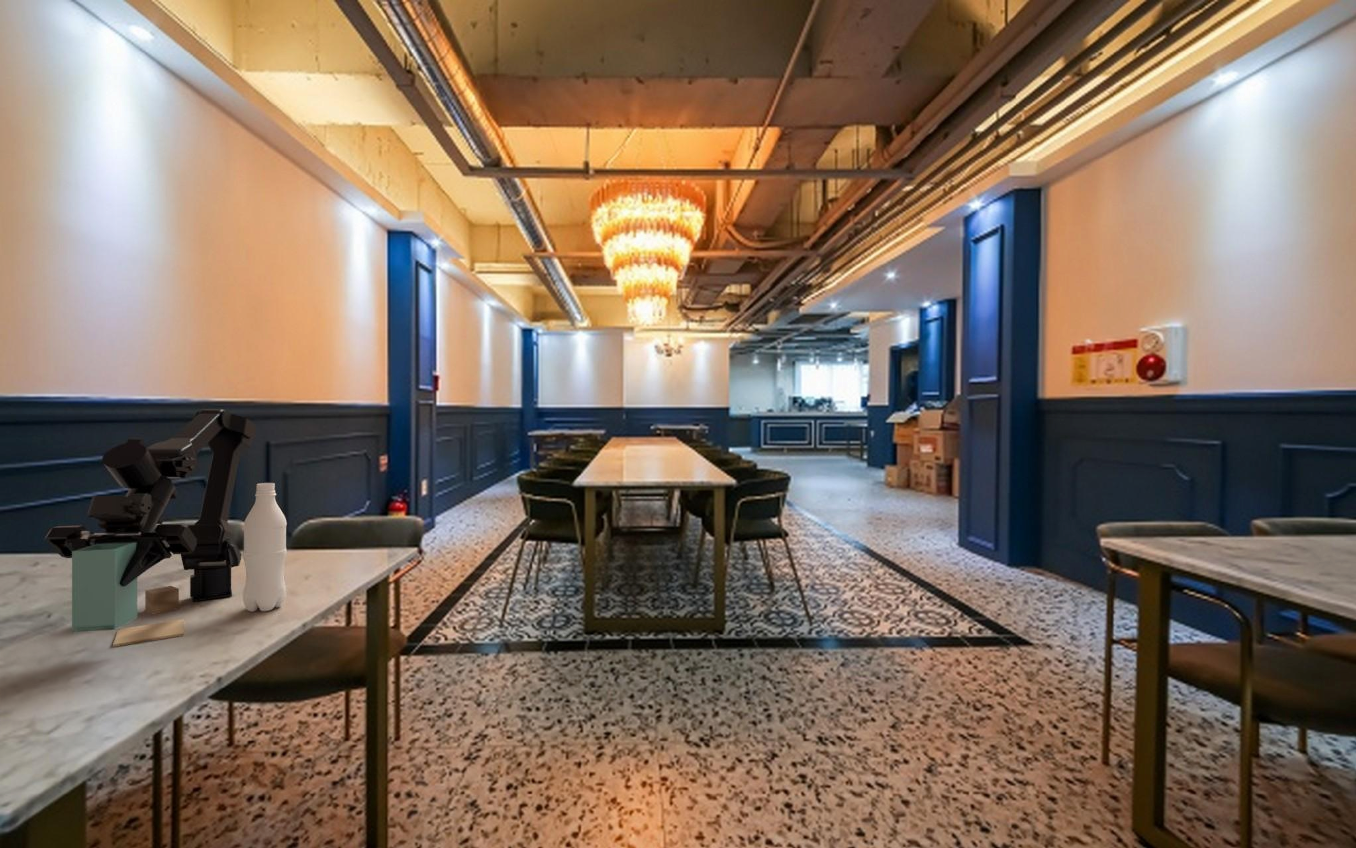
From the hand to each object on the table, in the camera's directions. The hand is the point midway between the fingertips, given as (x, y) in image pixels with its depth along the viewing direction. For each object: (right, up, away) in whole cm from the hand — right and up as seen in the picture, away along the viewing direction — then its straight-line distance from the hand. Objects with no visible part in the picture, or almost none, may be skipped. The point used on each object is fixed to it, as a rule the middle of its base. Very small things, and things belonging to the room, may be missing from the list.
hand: (99, 586), depth 94 cm
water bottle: (+8, -12, +26) cm, 30 cm away
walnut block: (-12, -11, +25) cm, 30 cm away
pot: (0, -7, +1) cm, 7 cm away
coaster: (-2, -11, +12) cm, 17 cm away
